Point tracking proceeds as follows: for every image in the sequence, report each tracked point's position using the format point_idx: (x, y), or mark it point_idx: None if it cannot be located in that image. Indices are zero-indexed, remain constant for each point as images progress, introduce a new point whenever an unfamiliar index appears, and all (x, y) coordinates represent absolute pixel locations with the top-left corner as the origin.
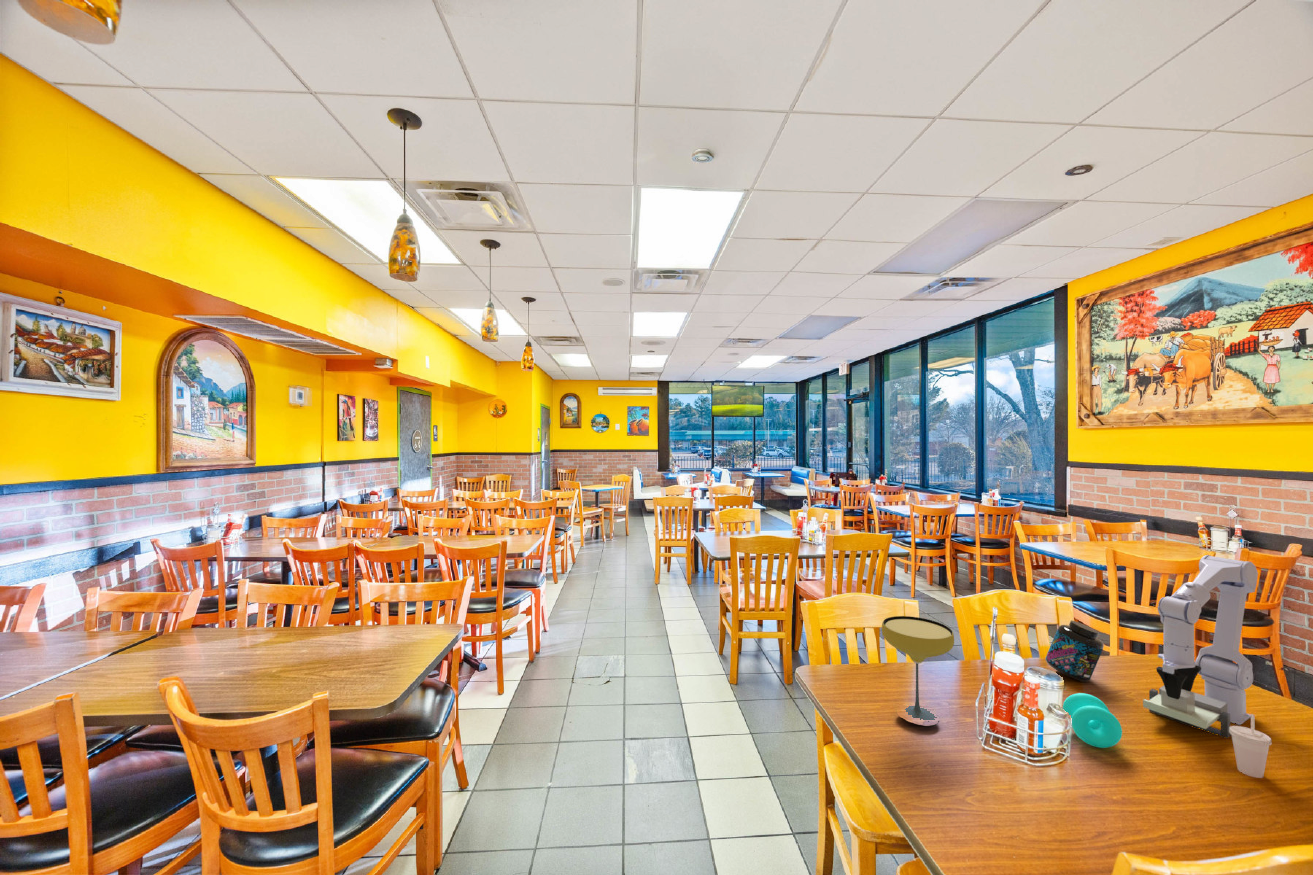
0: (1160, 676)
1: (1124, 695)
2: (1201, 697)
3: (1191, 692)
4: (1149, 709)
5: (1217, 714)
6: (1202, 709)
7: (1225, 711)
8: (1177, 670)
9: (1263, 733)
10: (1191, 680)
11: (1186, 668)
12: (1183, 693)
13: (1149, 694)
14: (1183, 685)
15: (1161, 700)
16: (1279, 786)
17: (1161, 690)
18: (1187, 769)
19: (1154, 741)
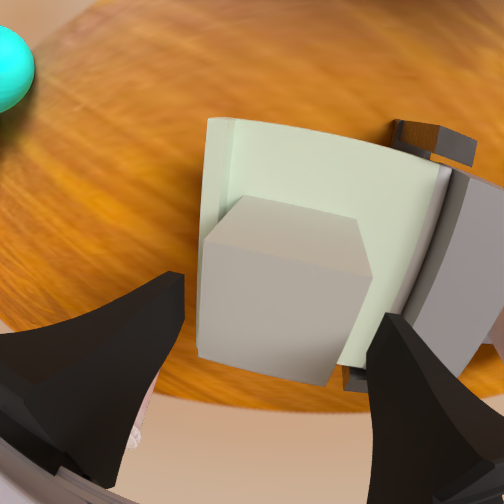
0: (35, 329)
1: (480, 43)
2: (458, 337)
3: (322, 376)
4: (397, 120)
5: (359, 363)
6: (377, 328)
7: None
8: (427, 431)
9: (132, 447)
10: (375, 433)
11: (398, 501)
12: (265, 348)
13: (429, 124)
14: (385, 358)
15: (232, 209)
16: None
17: (207, 239)
18: (52, 260)
19: (109, 181)
